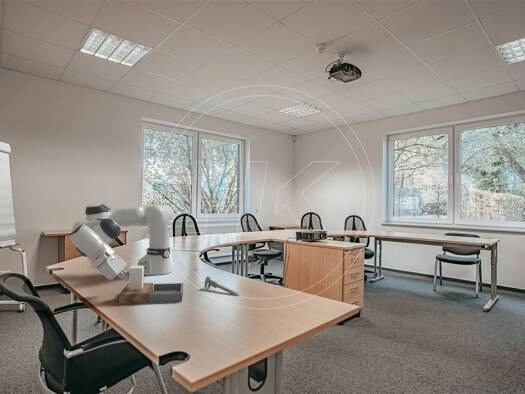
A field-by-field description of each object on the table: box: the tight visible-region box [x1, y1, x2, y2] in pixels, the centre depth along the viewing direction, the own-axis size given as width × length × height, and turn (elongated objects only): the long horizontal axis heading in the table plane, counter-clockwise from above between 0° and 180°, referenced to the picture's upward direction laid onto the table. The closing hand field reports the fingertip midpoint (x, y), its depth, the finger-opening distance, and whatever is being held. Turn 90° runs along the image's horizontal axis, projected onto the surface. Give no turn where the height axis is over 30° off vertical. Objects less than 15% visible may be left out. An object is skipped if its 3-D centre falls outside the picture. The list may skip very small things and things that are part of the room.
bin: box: [148, 282, 184, 304], centre depth 138 cm, size 13×16×4 cm
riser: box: [118, 282, 154, 305], centre depth 135 cm, size 11×16×4 cm
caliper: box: [203, 275, 241, 297], centre depth 147 cm, size 20×1×6 cm, turn 58°
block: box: [128, 265, 145, 290], centre depth 135 cm, size 5×5×9 cm
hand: (128, 279), depth 134 cm, fingers closed
